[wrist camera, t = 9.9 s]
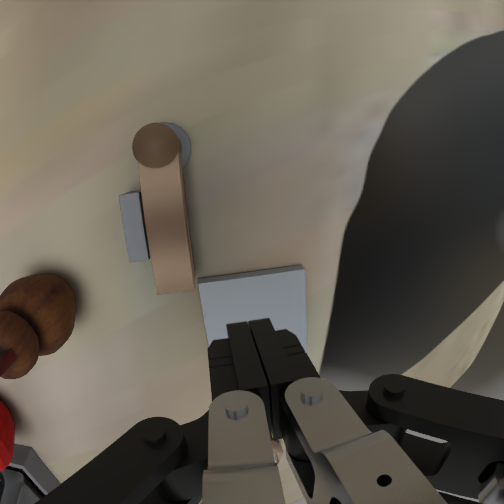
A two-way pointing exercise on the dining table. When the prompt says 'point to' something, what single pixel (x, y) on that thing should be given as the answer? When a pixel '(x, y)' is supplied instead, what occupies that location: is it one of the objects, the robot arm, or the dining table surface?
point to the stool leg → (165, 207)
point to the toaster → (16, 488)
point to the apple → (6, 436)
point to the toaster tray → (33, 468)
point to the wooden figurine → (33, 321)
